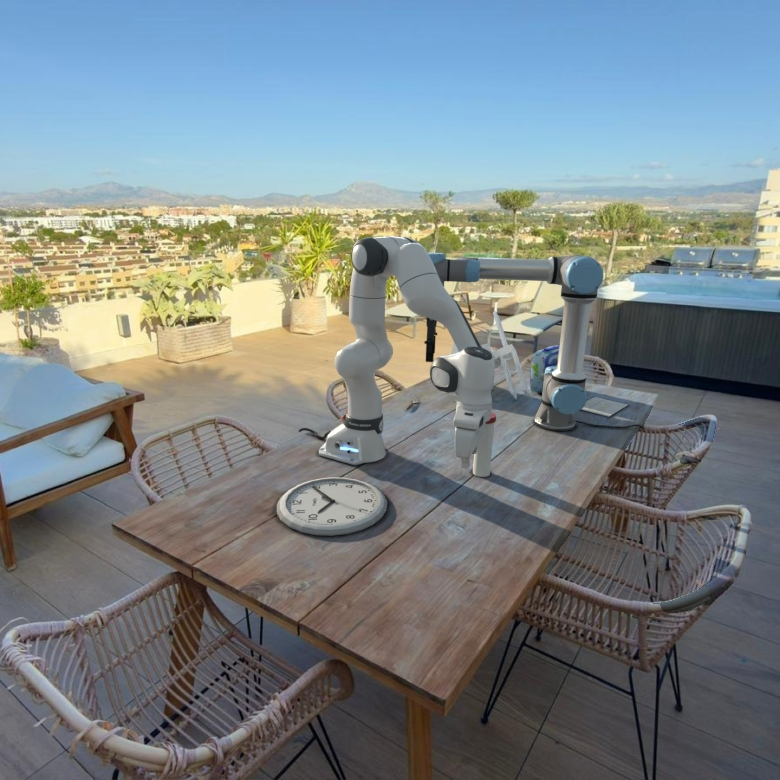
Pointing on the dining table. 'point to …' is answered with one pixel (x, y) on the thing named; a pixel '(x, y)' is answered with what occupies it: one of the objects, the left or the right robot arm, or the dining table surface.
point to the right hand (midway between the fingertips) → (430, 357)
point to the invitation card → (603, 406)
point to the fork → (413, 402)
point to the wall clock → (331, 506)
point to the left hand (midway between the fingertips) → (469, 459)
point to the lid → (492, 419)
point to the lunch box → (542, 366)
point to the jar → (484, 453)
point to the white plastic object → (504, 358)
